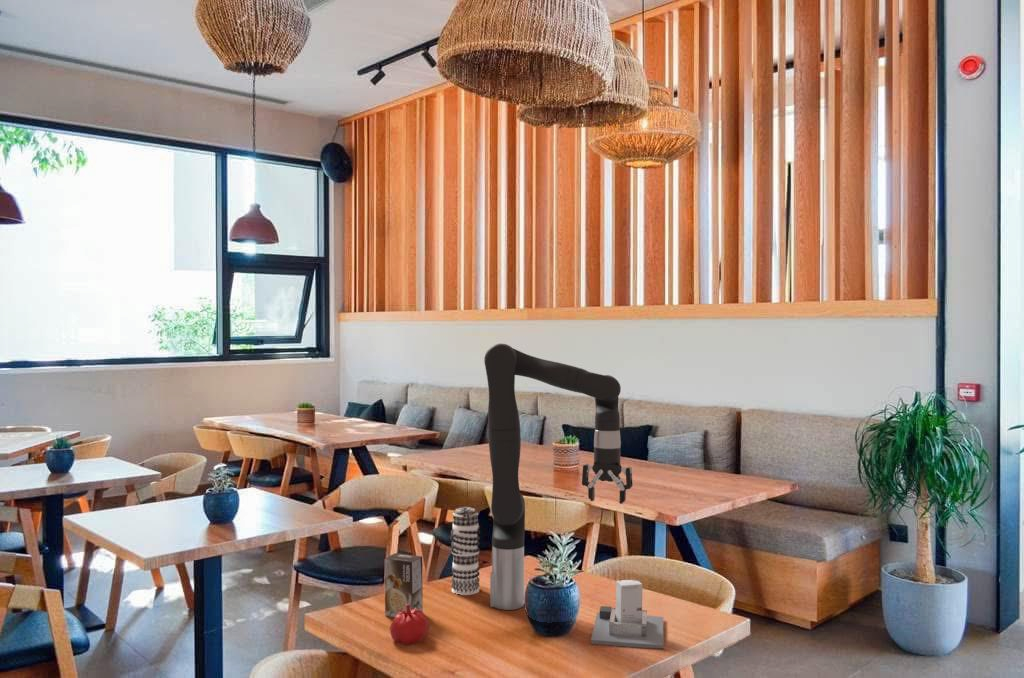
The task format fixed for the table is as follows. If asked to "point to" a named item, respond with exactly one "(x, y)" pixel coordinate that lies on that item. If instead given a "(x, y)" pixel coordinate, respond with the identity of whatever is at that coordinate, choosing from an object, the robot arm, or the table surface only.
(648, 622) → the grey holder base
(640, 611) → the skincare box
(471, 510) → the decorative candle
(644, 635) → the guard collar
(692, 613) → the table surface
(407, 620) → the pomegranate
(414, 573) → the coffee box
